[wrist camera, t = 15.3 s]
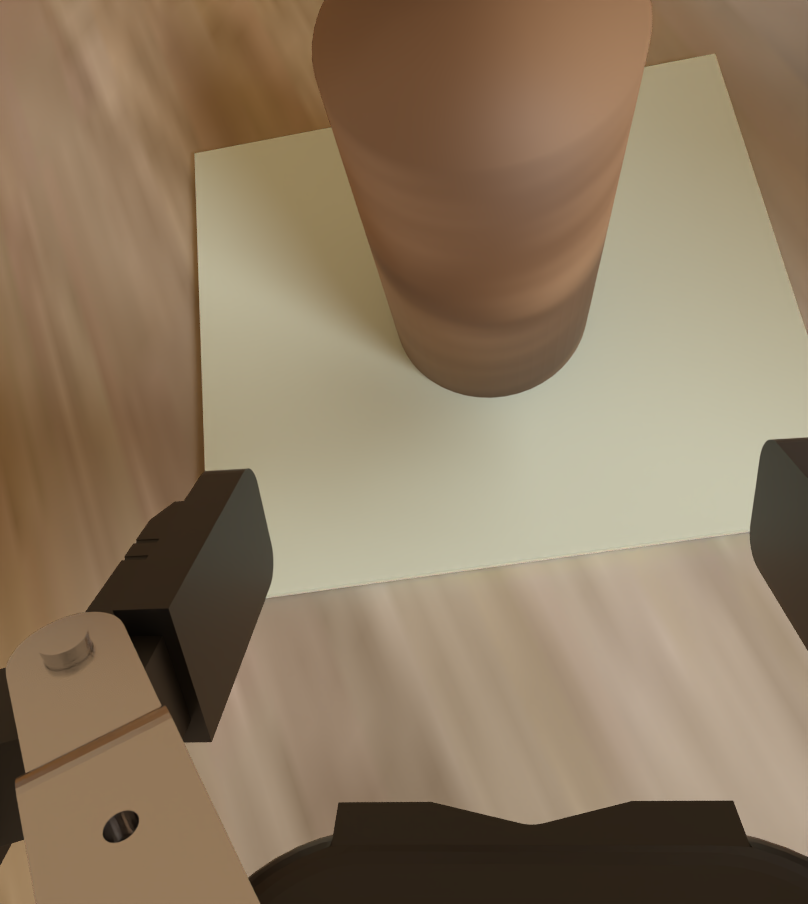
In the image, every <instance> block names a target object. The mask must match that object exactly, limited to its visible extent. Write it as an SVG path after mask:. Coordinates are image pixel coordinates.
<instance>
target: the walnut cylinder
mask: <svg viewBox="0 0 808 904" xmlns="http://www.w3.org/2000/svg"><path fill="white" fill-rule="evenodd" d="M651 33H652V5H651V0H324V2H323V4H322V6H321V9H320V11H319V14H318V17H317V21H316V24H315V27H314V34H313V41H312V62H313V68H314V73H315V78H316V81H317V84H318V88H319V91H320V94H321V97H322V100H323V103H324V106H325V109H326V112H327V116H328V119H329V122H330V125H331V128H332V131H333V134H334V137H335V140H336V143H337V147H338V150H339V153H340V156H341V159H342V162H343V165H344V168H345V171H346V175H347V178H348V181H349V184H350V187H351V190H352V193H353V196H354V199H355V202H356V206H357V209H358V212H359V215H360V218H361V221H362V224H363V227H364V230H365V234H366V237H367V240H368V243H369V246H370V249H371V252H372V255H373V258H374V261H375V265H376V268H377V271H378V274H379V277H380V280H381V283H382V286H383V289H384V292H385V296H386V299H387V302H388V305H389V308H390V311H391V314H392V317H393V320H394V324H395V327H396V330H397V333H398V336H399V339H400V342H401V344H402V347H403V349H404V351H405V352H406V354H407V356H408V358H409V359H410V360H411V362H412V363H413V364H414V366H415V367H416V368H417V369H418V370H419V371H420V372H421V373H422V374H423V375H425V376H426V377H427V378H428V379H430V380H431V381H432V382H434V383H436V384H438V385H439V386H441V387H443V388H445V389H448V390H450V391H452V392H455V393H459V394H462V395H466V396H472V397H481V398H495V397H505V396H509V395H514V394H518V393H521V392H524V391H527V390H529V389H532V388H534V387H536V386H538V385H540V384H542V383H543V382H545V381H546V380H548V379H549V378H551V377H552V376H553V375H555V374H556V373H557V372H558V371H559V370H560V369H561V368H562V367H563V366H564V365H565V364H566V363H567V362H568V361H569V359H570V358H571V357H572V355H573V354H574V352H575V351H576V349H577V347H578V345H579V343H580V341H581V339H582V336H583V333H584V330H585V327H586V322H587V318H588V313H589V309H590V305H591V300H592V296H593V292H594V287H595V283H596V278H597V274H598V270H599V265H600V261H601V256H602V252H603V248H604V243H605V239H606V234H607V230H608V226H609V221H610V217H611V212H612V208H613V204H614V199H615V195H616V190H617V186H618V182H619V177H620V173H621V168H622V164H623V160H624V155H625V151H626V147H627V142H628V138H629V133H630V129H631V125H632V120H633V116H634V111H635V107H636V103H637V98H638V94H639V89H640V85H641V81H642V76H643V72H644V67H645V63H646V59H647V54H648V50H649V45H650V39H651Z"/></svg>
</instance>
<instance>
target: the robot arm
mask: <svg viewBox="0 0 808 904" xmlns="http://www.w3.org/2000/svg"><path fill="white" fill-rule="evenodd" d="M136 541H137V542H136V544H133V545H132V546H131V548H130V549H129V551H128V552H127V554H126V555H125V560H123V561H121V562H120V564H119V565H118V566H117V568H116V569H115V571H114V572H113V573H112V575H111V576H110V578H109V579H108V581H107V582H106V583H105V585H104V586H103V588H102V589H101V591H100V592H99V593H98V595H97V596H96V598H95V599H94V601H93V602H92V603H91V605H90V606H89V608H88V609H87V610H86V612H85V613H79V614H74V615H71V616H67V617H64V618H61V619H59V620H56V621H54V622H52V623H50V624H48V625H46V626H44V627H42V628H41V629H39V630H37V631H36V632H34V633H33V634H31V635H30V636H29V637H28V638H26V639H25V640H24V641H23V642H22V643H21V644H20V645H19V646H18V647H17V648H16V649H15V651H14V652H13V653H12V655H11V656H10V658H9V660H8V662H7V666H6V668H3V669H0V865H1V863H2V861H3V859H4V857H5V855H6V853H7V851H8V849H9V848H10V846H11V844H12V843H14V842H18V841H21V840H24V841H25V847H26V852H27V858H28V863H29V869H30V875H31V880H32V886H33V891H34V897H35V902H36V904H808V857H807V856H804V855H802V854H800V853H798V852H795V851H793V850H791V849H788V848H786V847H783V846H780V845H777V844H774V843H771V842H768V841H765V840H762V839H759V838H755V837H751V836H747V835H746V834H745V831H744V828H743V826H742V823H741V820H740V818H739V815H738V813H737V810H736V807H735V805H734V802H733V801H630V802H627V803H623V804H619V805H615V806H611V807H607V808H603V809H599V810H595V811H591V812H587V813H583V814H579V815H575V816H571V817H567V818H563V819H559V820H555V821H551V822H547V823H543V824H537V825H527V824H521V823H517V822H512V821H508V820H504V819H500V818H496V817H492V816H487V815H483V814H479V813H475V812H471V811H466V810H462V809H458V808H454V807H450V806H445V805H441V804H437V803H433V802H345V803H339V804H338V810H337V815H336V821H335V827H334V833H333V835H330V836H326V837H323V838H319V839H317V840H314V841H311V842H309V843H306V844H304V845H301V846H298V847H296V848H294V849H293V850H291V851H289V852H287V853H285V854H283V855H281V856H279V857H277V858H275V859H274V860H272V861H271V862H269V863H268V864H266V865H265V866H263V867H262V868H260V869H259V870H257V871H256V872H255V873H253V874H252V875H251V876H250V877H247V875H246V873H245V871H244V869H243V866H242V864H241V862H240V860H239V858H238V856H237V854H236V852H235V850H234V847H233V845H232V843H231V841H230V839H229V837H228V835H227V833H226V831H225V828H224V826H223V824H222V822H221V820H220V818H219V816H218V814H217V812H216V810H215V807H214V805H213V803H212V801H211V799H210V797H209V795H208V793H207V791H206V788H205V786H204V784H203V782H202V780H201V778H200V776H199V774H198V772H197V769H196V767H195V765H194V763H193V761H192V759H191V757H190V755H189V753H188V750H187V748H186V746H185V744H184V742H212V740H213V737H214V734H215V732H216V729H217V727H218V724H219V721H220V719H221V716H222V713H223V711H224V708H225V705H226V703H227V700H228V697H229V695H230V692H231V689H232V687H233V684H234V681H235V679H236V676H237V673H238V671H239V668H240V665H241V663H242V660H243V657H244V655H245V652H246V649H247V647H248V644H249V641H250V639H251V636H252V633H253V631H254V628H255V625H256V623H257V620H258V617H259V615H260V612H261V609H262V607H263V604H264V601H265V599H266V596H267V593H268V591H269V588H270V585H271V582H272V577H273V549H272V544H271V540H270V535H269V531H268V526H267V522H266V518H265V513H264V509H263V504H262V500H261V495H260V491H259V487H258V482H257V479H256V476H255V474H254V472H253V471H252V470H251V469H249V468H247V469H229V470H212V471H205V472H203V473H202V474H201V476H200V477H199V479H198V481H197V482H196V484H195V485H194V487H193V488H192V490H191V491H190V493H189V494H188V496H187V497H186V499H185V500H184V501H179V502H174V503H172V504H171V505H170V506H168V507H167V508H165V509H164V510H163V511H161V512H160V513H159V514H157V515H156V516H155V517H153V518H152V519H151V520H150V521H149V522H148V524H147V525H146V527H145V528H144V529H143V531H142V532H141V534H140V535H139V537H138V538H137V539H136ZM750 544H751V550H752V555H753V558H754V561H755V563H756V566H757V568H758V569H759V571H760V573H761V574H762V576H763V578H764V579H765V581H766V583H767V584H768V586H769V587H770V589H771V591H772V592H773V594H774V596H775V597H776V599H777V601H778V602H779V604H780V606H781V607H782V609H783V611H784V612H785V614H786V616H787V617H788V619H789V620H790V622H791V624H792V625H793V627H794V629H795V630H796V632H797V634H798V635H799V637H800V639H801V640H802V642H803V644H804V645H805V647H806V649H807V650H808V437H804V438H787V439H770V440H767V441H766V442H765V443H764V445H763V447H762V450H761V454H760V459H759V466H758V473H757V480H756V488H755V495H754V502H753V509H752V516H751V523H750Z"/></svg>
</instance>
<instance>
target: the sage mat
mask: <svg viewBox="0 0 808 904" xmlns="http://www.w3.org/2000/svg"><path fill="white" fill-rule="evenodd" d="M194 155H195V185H196V215H197V246H198V276H199V306H200V336H201V367H202V397H203V427H204V458H205V471H212V470H229V469H247V468H249V469H251V470H252V471H253V472H254V474H255V476H256V479H257V482H258V487H259V491H260V495H261V500H262V504H263V509H264V513H265V518H266V522H267V526H268V531H269V535H270V540H271V544H272V549H273V577H272V582H271V585H270V588H269V591H268V593H267V596H266V598H271V597H279V596H286V595H293V594H300V593H308V592H315V591H322V590H330V589H337V588H344V587H351V586H359V585H366V584H373V583H380V582H388V581H395V580H402V579H410V578H417V577H424V576H431V575H439V574H446V573H453V572H461V571H468V570H475V569H482V568H490V567H497V566H504V565H511V564H519V563H526V562H533V561H541V560H548V559H555V558H562V557H570V556H577V555H584V554H592V553H599V552H606V551H613V550H621V549H628V548H635V547H643V546H650V545H657V544H664V543H672V542H679V541H686V540H693V539H701V538H708V537H715V536H723V535H730V534H737V533H744V532H750V523H751V516H752V509H753V502H754V495H755V488H756V480H757V473H758V466H759V459H760V454H761V450H762V447H763V445H764V443H765V442H766V441H767V440H770V439H787V438H804V437H808V335H807V332H806V329H805V326H804V323H803V320H802V317H801V314H800V311H799V308H798V305H797V302H796V299H795V295H794V292H793V289H792V286H791V283H790V280H789V277H788V274H787V271H786V268H785V265H784V262H783V259H782V256H781V253H780V250H779V247H778V244H777V241H776V238H775V234H774V231H773V228H772V225H771V222H770V219H769V216H768V213H767V210H766V207H765V204H764V201H763V198H762V195H761V192H760V189H759V186H758V183H757V180H756V177H755V174H754V170H753V167H752V164H751V161H750V158H749V155H748V152H747V149H746V146H745V143H744V140H743V137H742V134H741V131H740V128H739V125H738V122H737V119H736V116H735V113H734V110H733V106H732V103H731V100H730V97H729V94H728V91H727V88H726V85H725V82H724V79H723V76H722V73H721V70H720V67H719V64H718V61H717V58H716V55H715V54H710V55H704V56H699V57H694V58H689V59H684V60H678V61H673V62H668V63H663V64H658V65H652V66H647V67H644V72H643V76H642V81H641V85H640V89H639V94H638V98H637V103H636V107H635V111H634V116H633V120H632V125H631V129H630V133H629V138H628V142H627V147H626V151H625V155H624V160H623V164H622V168H621V173H620V177H619V182H618V186H617V190H616V195H615V199H614V204H613V208H612V212H611V217H610V221H609V226H608V230H607V234H606V239H605V243H604V248H603V252H602V256H601V261H600V265H599V270H598V274H597V278H596V283H595V287H594V292H593V296H592V300H591V305H590V309H589V313H588V318H587V322H586V327H585V330H584V333H583V336H582V339H581V341H580V343H579V345H578V347H577V349H576V351H575V352H574V354H573V355H572V357H571V358H570V359H569V361H568V362H567V363H566V364H565V365H564V366H563V367H562V368H561V369H560V370H559V371H558V372H557V373H556V374H555V375H553V376H552V377H551V378H549V379H548V380H546V381H545V382H543V383H542V384H540V385H538V386H536V387H534V388H532V389H529V390H527V391H524V392H521V393H518V394H514V395H509V396H505V397H495V398H481V397H472V396H466V395H462V394H459V393H455V392H452V391H450V390H448V389H445V388H443V387H441V386H439V385H438V384H436V383H434V382H432V381H431V380H430V379H428V378H427V377H426V376H425V375H423V374H422V373H421V372H420V371H419V370H418V369H417V368H416V367H415V366H414V364H413V363H412V362H411V360H410V359H409V358H408V356H407V354H406V352H405V351H404V349H403V347H402V344H401V342H400V339H399V336H398V333H397V330H396V327H395V324H394V320H393V317H392V314H391V311H390V308H389V305H388V302H387V299H386V296H385V292H384V289H383V286H382V283H381V280H380V277H379V274H378V271H377V268H376V265H375V261H374V258H373V255H372V252H371V249H370V246H369V243H368V240H367V237H366V234H365V230H364V227H363V224H362V221H361V218H360V215H359V212H358V209H357V206H356V202H355V199H354V196H353V193H352V190H351V187H350V184H349V181H348V178H347V175H346V171H345V168H344V165H343V162H342V159H341V156H340V153H339V150H338V147H337V143H336V140H335V137H334V134H333V131H332V128H331V127H330V128H324V129H319V130H314V131H309V132H304V133H298V134H293V135H288V136H283V137H277V138H272V139H267V140H262V141H257V142H251V143H246V144H241V145H236V146H231V147H225V148H220V149H215V150H210V151H205V152H199V153H194Z"/></svg>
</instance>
